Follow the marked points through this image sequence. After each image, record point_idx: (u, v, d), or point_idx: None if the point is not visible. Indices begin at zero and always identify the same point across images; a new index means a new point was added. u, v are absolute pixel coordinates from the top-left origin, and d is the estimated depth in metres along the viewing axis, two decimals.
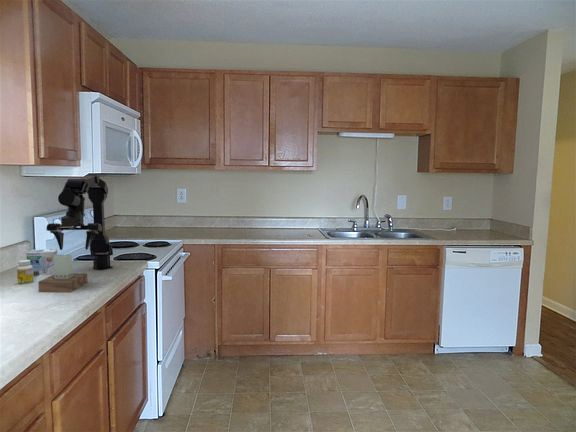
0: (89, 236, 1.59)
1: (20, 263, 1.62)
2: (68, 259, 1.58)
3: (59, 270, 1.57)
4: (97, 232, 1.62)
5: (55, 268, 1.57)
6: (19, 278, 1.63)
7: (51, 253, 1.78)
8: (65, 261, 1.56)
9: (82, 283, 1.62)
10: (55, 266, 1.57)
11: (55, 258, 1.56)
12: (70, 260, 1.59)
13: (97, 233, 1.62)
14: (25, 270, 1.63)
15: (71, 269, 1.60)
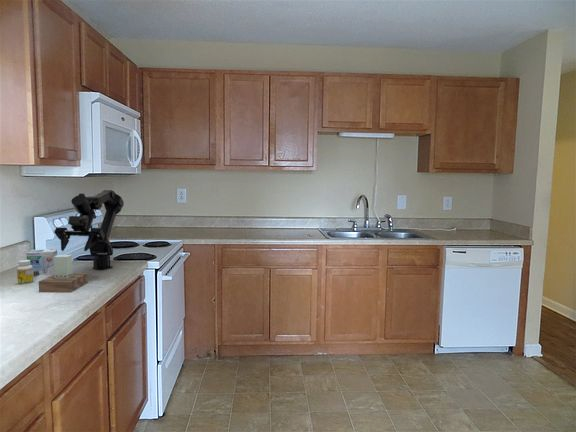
0: (90, 238, 1.68)
1: (20, 263, 1.62)
2: (68, 259, 1.58)
3: (59, 270, 1.57)
4: (99, 238, 1.72)
5: (55, 268, 1.57)
6: (19, 278, 1.63)
7: (51, 253, 1.78)
8: (65, 261, 1.56)
9: (82, 283, 1.62)
10: (55, 266, 1.57)
11: (55, 258, 1.56)
12: (70, 260, 1.59)
13: (98, 239, 1.72)
14: (25, 270, 1.63)
15: (71, 269, 1.60)
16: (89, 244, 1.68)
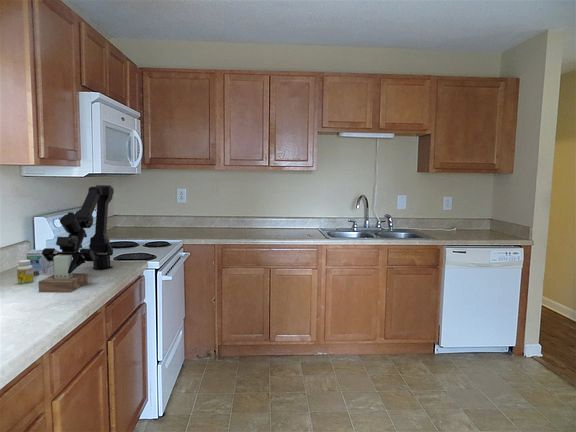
0: (75, 260, 1.60)
1: (20, 263, 1.62)
2: (68, 259, 1.58)
3: (59, 270, 1.57)
4: (84, 260, 1.63)
5: (55, 268, 1.57)
6: (19, 278, 1.63)
7: None
8: (65, 261, 1.56)
9: (82, 283, 1.62)
10: (55, 266, 1.57)
11: (55, 258, 1.56)
12: (70, 260, 1.59)
13: (84, 261, 1.63)
14: (25, 270, 1.63)
15: None
16: (73, 266, 1.59)
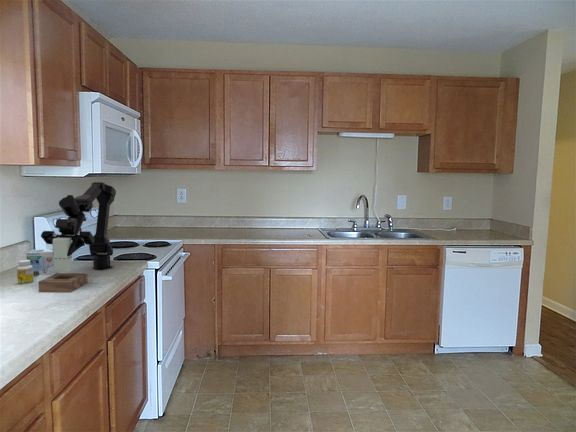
0: (74, 242, 1.59)
1: (20, 263, 1.62)
2: (67, 241, 1.57)
3: (59, 253, 1.56)
4: (83, 242, 1.62)
5: (54, 250, 1.56)
6: (19, 278, 1.63)
7: (51, 253, 1.78)
8: (64, 243, 1.56)
9: (82, 283, 1.62)
10: (54, 248, 1.56)
11: (54, 240, 1.55)
12: (69, 242, 1.58)
13: (83, 244, 1.62)
14: (25, 270, 1.63)
15: None
16: (73, 249, 1.59)
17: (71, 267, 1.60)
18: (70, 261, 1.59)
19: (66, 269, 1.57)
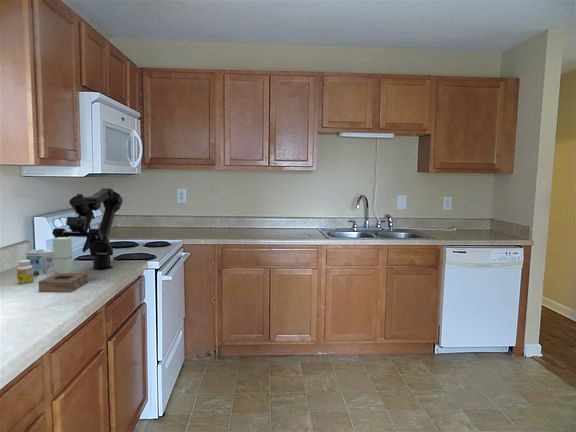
0: (88, 239, 1.67)
1: (20, 263, 1.62)
2: (67, 241, 1.57)
3: (58, 253, 1.56)
4: (97, 239, 1.70)
5: (54, 250, 1.56)
6: (19, 278, 1.63)
7: (51, 253, 1.78)
8: (64, 243, 1.56)
9: (82, 283, 1.62)
10: (54, 248, 1.56)
11: (54, 240, 1.55)
12: (69, 242, 1.58)
13: (97, 240, 1.70)
14: (25, 270, 1.63)
15: (70, 252, 1.59)
16: (87, 245, 1.67)
17: (71, 267, 1.60)
18: (70, 261, 1.59)
19: (66, 269, 1.57)
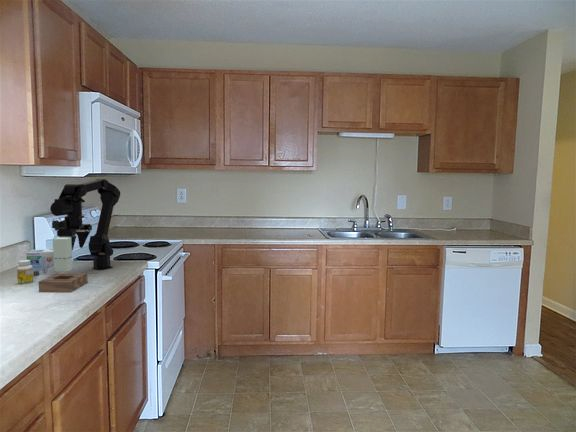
0: None
1: (20, 263, 1.62)
2: (67, 241, 1.57)
3: (58, 253, 1.56)
4: None
5: (54, 250, 1.56)
6: (19, 278, 1.63)
7: (51, 253, 1.78)
8: (64, 243, 1.56)
9: (82, 283, 1.62)
10: (54, 248, 1.56)
11: (54, 240, 1.55)
12: (69, 242, 1.58)
13: None
14: (25, 270, 1.63)
15: (70, 252, 1.59)
16: None
17: (71, 267, 1.60)
18: (70, 261, 1.59)
19: (66, 269, 1.57)
